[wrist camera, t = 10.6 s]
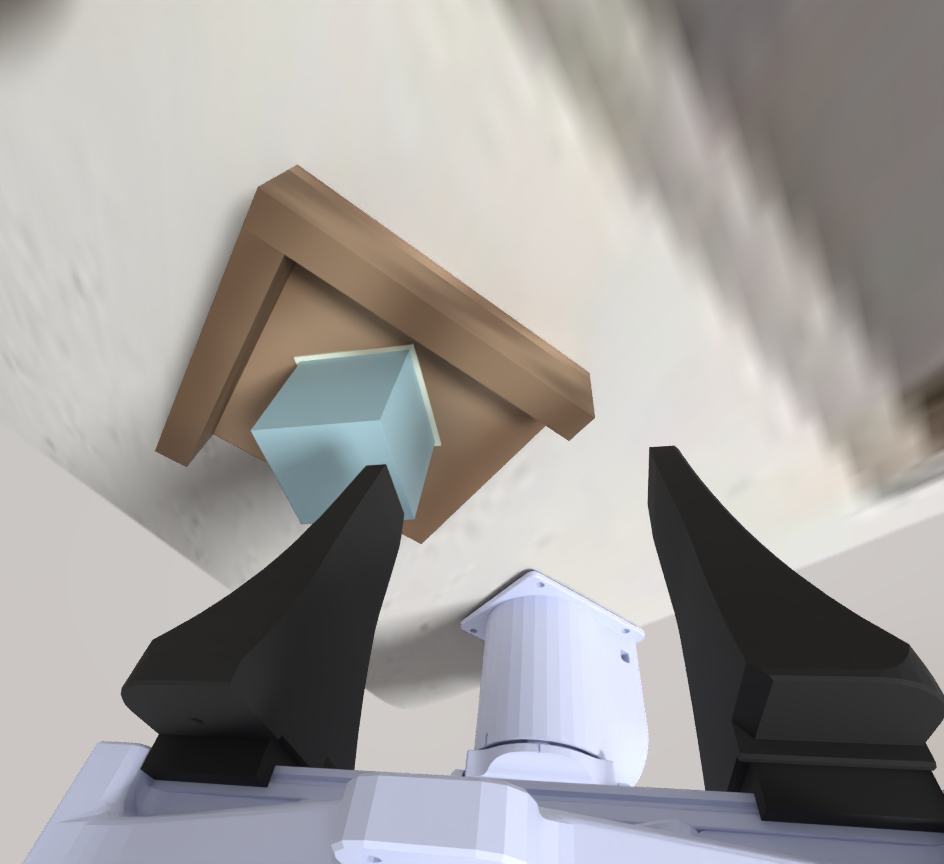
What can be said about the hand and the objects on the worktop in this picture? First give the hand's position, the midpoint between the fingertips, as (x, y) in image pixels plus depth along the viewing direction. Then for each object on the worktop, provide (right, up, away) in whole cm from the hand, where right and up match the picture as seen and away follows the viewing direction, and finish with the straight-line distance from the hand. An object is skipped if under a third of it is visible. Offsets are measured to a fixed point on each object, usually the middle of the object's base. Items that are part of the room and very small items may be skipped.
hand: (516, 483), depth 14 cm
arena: (-6, +3, +10) cm, 12 cm away
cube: (-6, +3, +10) cm, 12 cm away
